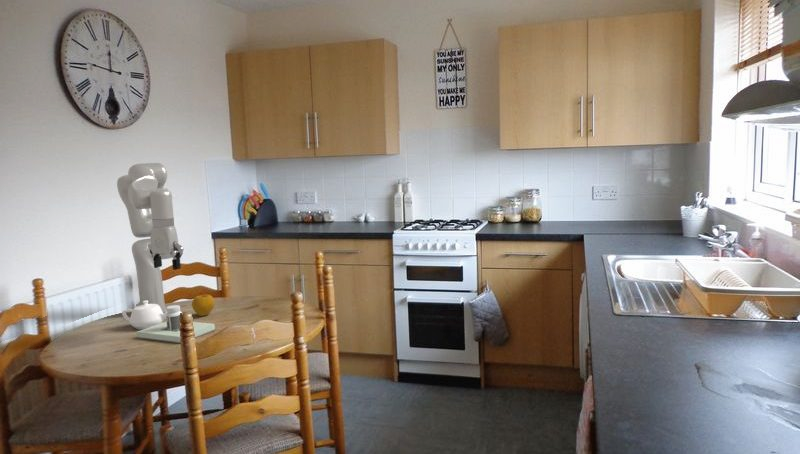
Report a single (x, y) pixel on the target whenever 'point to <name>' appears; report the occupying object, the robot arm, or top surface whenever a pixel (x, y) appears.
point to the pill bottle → (173, 318)
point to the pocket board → (172, 332)
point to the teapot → (145, 315)
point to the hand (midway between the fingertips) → (167, 268)
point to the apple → (203, 304)
